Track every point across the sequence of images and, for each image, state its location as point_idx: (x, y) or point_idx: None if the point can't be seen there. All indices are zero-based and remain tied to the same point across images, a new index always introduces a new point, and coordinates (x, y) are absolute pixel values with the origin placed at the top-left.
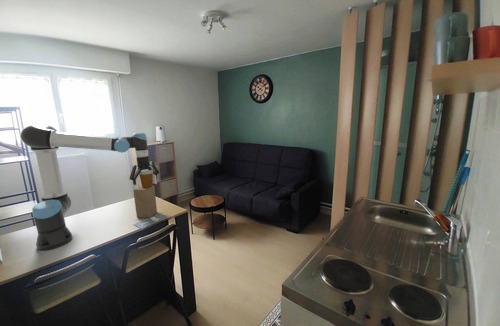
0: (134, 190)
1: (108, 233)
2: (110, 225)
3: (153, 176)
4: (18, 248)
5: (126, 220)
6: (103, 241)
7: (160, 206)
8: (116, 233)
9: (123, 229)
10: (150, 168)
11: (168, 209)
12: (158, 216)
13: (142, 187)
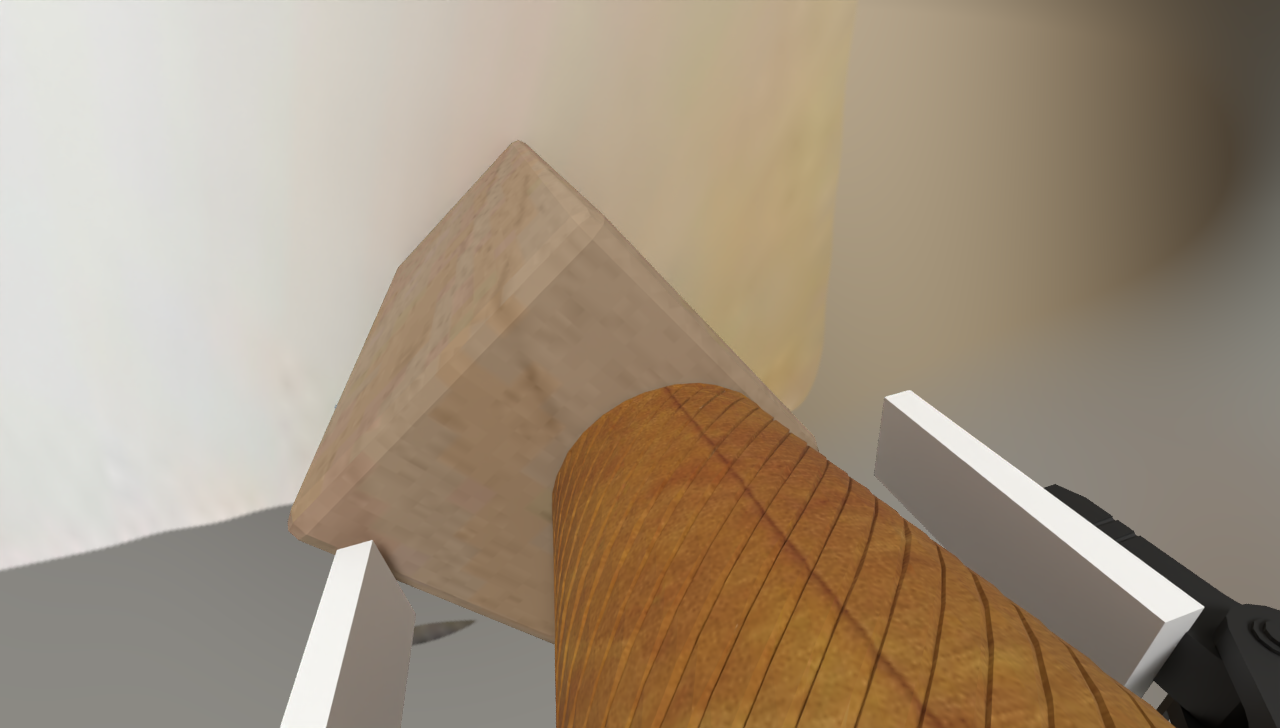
0: (316, 542)
1: (54, 436)
2: (32, 244)
3: (1079, 592)
4: None
5: (263, 241)
6: (33, 551)
7: (740, 126)
8: (154, 478)
9: (227, 439)
10: None
11: (746, 288)
12: None
13: (552, 499)
